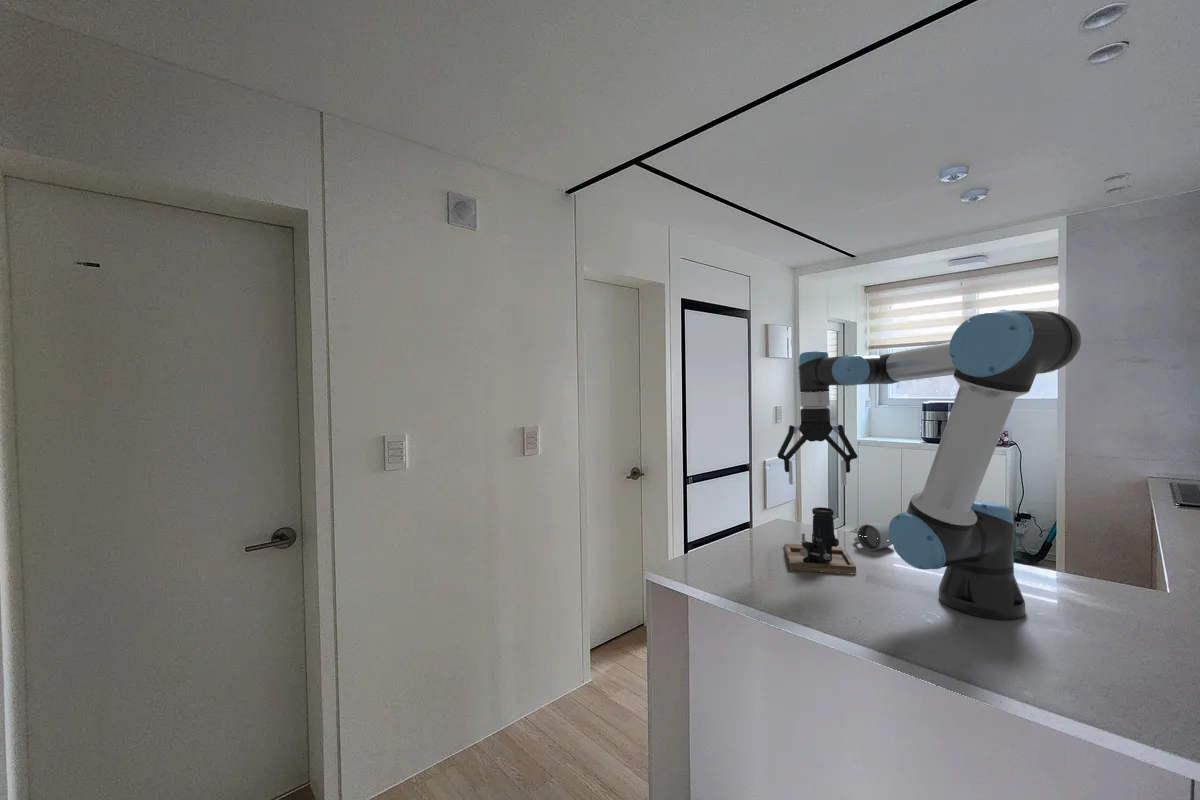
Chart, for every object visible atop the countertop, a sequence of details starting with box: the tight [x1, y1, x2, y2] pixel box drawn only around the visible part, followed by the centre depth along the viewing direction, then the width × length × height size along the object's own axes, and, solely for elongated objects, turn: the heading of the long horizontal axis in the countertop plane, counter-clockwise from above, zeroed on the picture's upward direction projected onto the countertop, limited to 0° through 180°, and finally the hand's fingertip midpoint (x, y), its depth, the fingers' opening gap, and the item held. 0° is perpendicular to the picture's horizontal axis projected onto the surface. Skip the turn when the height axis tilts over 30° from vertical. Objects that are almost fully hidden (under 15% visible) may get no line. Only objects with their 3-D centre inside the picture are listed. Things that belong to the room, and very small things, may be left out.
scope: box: [800, 506, 840, 564], centre depth 137 cm, size 8×14×10 cm
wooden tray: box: [784, 543, 857, 574], centre depth 140 cm, size 20×16×2 cm
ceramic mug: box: [853, 522, 893, 552], centre depth 150 cm, size 11×8×8 cm
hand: (817, 484), depth 137 cm, fingers open, 13 cm apart
